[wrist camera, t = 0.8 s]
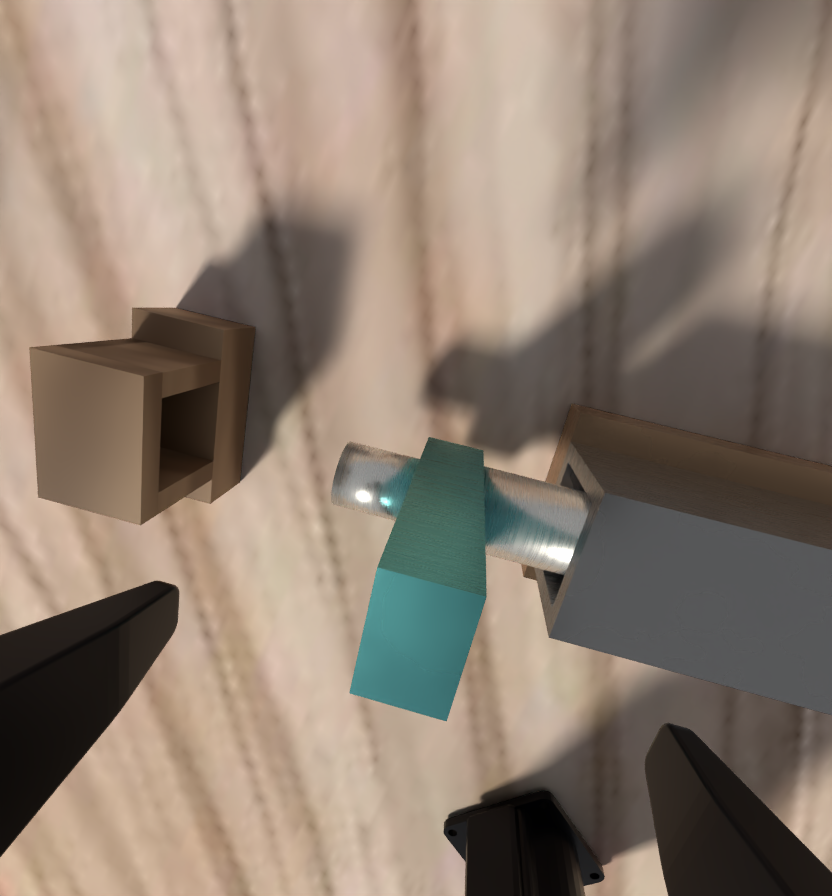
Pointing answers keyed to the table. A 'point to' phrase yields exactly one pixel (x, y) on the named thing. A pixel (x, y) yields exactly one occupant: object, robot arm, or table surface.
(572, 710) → the table surface
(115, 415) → the socket
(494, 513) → the teal block on rod
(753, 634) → the sleeve
